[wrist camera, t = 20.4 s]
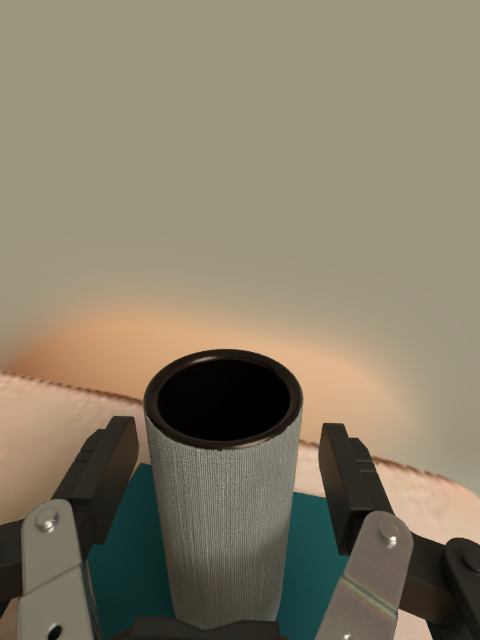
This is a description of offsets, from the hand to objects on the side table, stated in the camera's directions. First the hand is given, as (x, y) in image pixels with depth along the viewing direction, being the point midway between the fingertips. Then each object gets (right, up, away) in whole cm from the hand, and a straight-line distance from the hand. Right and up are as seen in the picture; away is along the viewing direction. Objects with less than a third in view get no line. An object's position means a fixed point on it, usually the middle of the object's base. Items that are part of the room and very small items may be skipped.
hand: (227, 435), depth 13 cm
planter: (0, -7, +1) cm, 7 cm away
